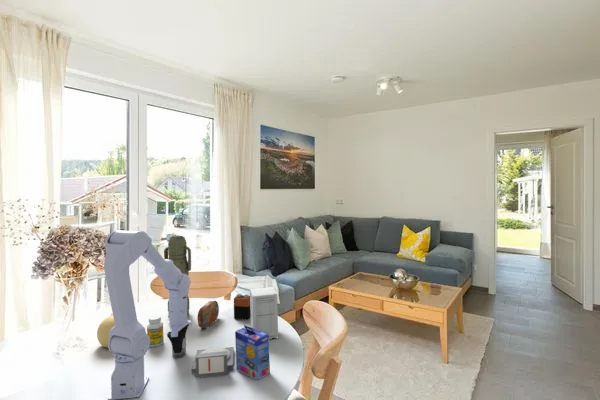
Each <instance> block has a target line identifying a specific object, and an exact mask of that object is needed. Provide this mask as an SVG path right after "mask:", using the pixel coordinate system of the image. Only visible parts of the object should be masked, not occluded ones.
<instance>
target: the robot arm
mask: <svg viewBox="0 0 600 400" xmlns="http://www.w3.org/2000/svg"><path fill="white" fill-rule="evenodd" d="M152 242H153V240H152V238H151V237H150V236H149V235H148V233H147V232H146V231H144V230H138V231H137V230H134V231H133V230H122V229H116V230H113V231H112V232H111V233H110V234H109V235H108V236H107V237H106V239H105V240H104V248H105V255H104V262H103V270H104V275H105V280H106V284H107V285H106V286H107V290H108V296H109V297H108V298H109V302H110V307H111V311H112V313H111V314H113V318H114V323H115V326H114V327H113V328H112V329H111V330H110V331H109V342H108V347H107V348H108V350H109V352H110V353H112V357H113V358H114V365H115V366H114V370H113V372H112V373H111V376H110V381H111V382H110V385H111V387H110V389H111V392H110V394H109V395H108V397H107V400H121V399H122V400H123V399H133V398H139V397H140V396H141V395H142V393H143V391H144V389H145V386H146V385H147V383H148V381H149V379H150V376H149V375H147V376H146V375H145V356H146V355H147V352H148V351H149V348H150V338H149V336H148V335H147V330H146V328H145V326H144V325H143V324H141V322H139V320H138V316H137V312H136V305H135V301H134V300H135V299H134V294H133V289H132V282H131V277H130V271H129V270H130V269H129V268H130V266H131V265H132V264H134V263H135V262H136V261H137V260H138V259H139V258H140V257H143V258H144V259H145V260H146V261H147V262H148V263H150V264H151V265H152V266H153V267H154V269H153V270H154V274H156V276H157V277H159V278H160V280H162V282H163V286H164V289H166V290H168V300H169V312H168V316H169V317H168V320H169V321H168V327H169V329H170V331H167V335H166V337H167V338H168V339H169V342H170V343H171V348H172V347H173V351H174V353H181V350H182V344H183V338H186V335H187V332H188V331H187V330H188V328H189V326H190V325H191V324H192V319H188V316H187V295H189V291H190V290H189V289H190V286H191V282H192V281H191V279H190V277H189V275H188V276H187V275H186V274H182V273H181V271H180V269H178V268H177V267H176V266H175V265H174V264H173V261H172V260H169V259H164V256H162V254H161V253H160V252H159V251H158V249H157V248H156V246H155V245H154V244H153V243H152Z"/></svg>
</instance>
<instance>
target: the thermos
mask: <svg viewBox="0 0 600 400" xmlns="http://www.w3.org/2000/svg"><path fill="white" fill-rule="evenodd" d="M163 255H164V256H163V258H164V259H169V260H172V261H173V264H174V265H175V266H176V267H177V268H178V269H180V271H181V273H182V274H186V275H187V276H188V277H189V272H191V271H192V249H191V248H190V246H187V241H186V237H185V236H183V235H173V236H171V237H169V240H168V244H167V247H165V248H164V250H163ZM188 295H189V294H188ZM188 295H187V317H189V315H190V297H189V296H188ZM167 312H168V313H169V299H168V300H167ZM167 317H168V318H169V315H167Z"/></svg>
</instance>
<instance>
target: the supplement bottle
mask: <svg viewBox="0 0 600 400" xmlns="http://www.w3.org/2000/svg"><path fill="white" fill-rule="evenodd" d="M161 320H162V317H161V315H152V316H150V317H148V324H147V326H146V334H147V335H148V336H149V338H150V346H149V348H150V347H152V348H155V347H159V346H161V345H163V343H164V341H165V339H164V323H163V321H161Z"/></svg>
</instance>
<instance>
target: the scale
mask: <svg viewBox="0 0 600 400" xmlns="http://www.w3.org/2000/svg"><path fill="white" fill-rule="evenodd" d="M234 351H235V348H234V346H232V347H230V346H229V347H220V346H219V347H210V348H206V349H197V350H196V354H195V357H194V360H193V363H192V367H191V375H195V378H196V379H197V378H198V379H200V378H208V377H219V376H227V375H228V371H232V370H233V368H234V367H233V366H234V356H235V355H234Z"/></svg>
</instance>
